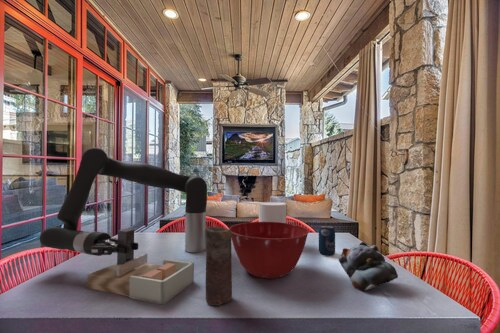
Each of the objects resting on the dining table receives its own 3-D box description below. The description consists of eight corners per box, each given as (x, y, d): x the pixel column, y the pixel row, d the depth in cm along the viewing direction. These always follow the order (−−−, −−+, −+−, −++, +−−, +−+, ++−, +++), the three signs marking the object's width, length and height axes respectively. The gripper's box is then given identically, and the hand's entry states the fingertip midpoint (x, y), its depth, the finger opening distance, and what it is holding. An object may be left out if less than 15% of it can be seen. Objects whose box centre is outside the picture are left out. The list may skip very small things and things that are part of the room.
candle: (206, 293, 76) (206, 225, 77) (231, 292, 77) (231, 224, 77) (204, 307, 69) (204, 231, 69) (232, 306, 69) (232, 230, 70)
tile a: (157, 268, 81) (165, 269, 80) (167, 263, 85) (175, 264, 84) (157, 284, 80) (165, 286, 79) (167, 278, 85) (175, 279, 84)
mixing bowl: (265, 253, 114) (265, 218, 114) (324, 271, 93) (324, 228, 94) (212, 270, 94) (213, 227, 94) (273, 298, 74) (273, 243, 74)
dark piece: (105, 273, 79) (106, 233, 79) (134, 260, 90) (135, 226, 90) (119, 276, 77) (119, 235, 77) (147, 262, 89) (147, 227, 89)
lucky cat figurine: (355, 294, 76) (337, 246, 82) (348, 293, 87) (332, 251, 93) (406, 280, 76) (383, 233, 82) (392, 280, 86) (373, 239, 92)
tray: (129, 297, 74) (129, 276, 74) (164, 276, 88) (164, 259, 89) (162, 304, 70) (163, 282, 70) (193, 281, 85) (193, 262, 85)
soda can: (329, 257, 108) (329, 228, 109) (315, 253, 114) (315, 226, 114) (338, 254, 113) (338, 226, 113) (324, 250, 118) (324, 224, 118)
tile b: (142, 275, 75) (150, 277, 74) (154, 269, 80) (162, 270, 79) (141, 293, 75) (150, 294, 74) (153, 286, 80) (161, 287, 79)
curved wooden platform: (87, 287, 80) (87, 274, 80) (123, 271, 93) (123, 260, 93) (131, 296, 74) (131, 282, 74) (163, 277, 88) (163, 265, 88)
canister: (268, 239, 138) (268, 201, 139) (291, 243, 131) (290, 203, 131) (253, 244, 128) (253, 203, 128) (277, 249, 120) (277, 205, 120)
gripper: (72, 236, 82) (115, 242, 77) (109, 227, 95) (148, 231, 90) (72, 260, 82) (114, 267, 76) (109, 248, 95) (148, 253, 90)
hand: (132, 248), depth 83 cm, fingers closed on dark piece, 3 cm apart
